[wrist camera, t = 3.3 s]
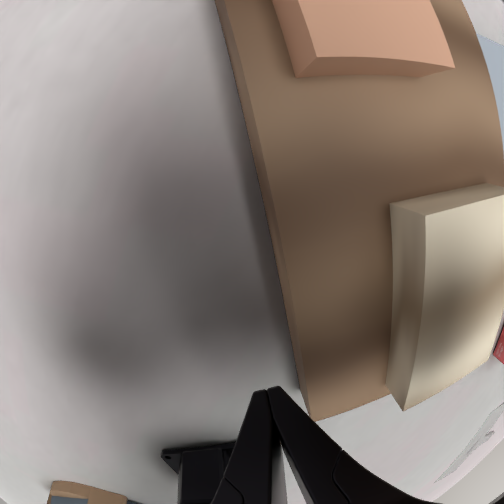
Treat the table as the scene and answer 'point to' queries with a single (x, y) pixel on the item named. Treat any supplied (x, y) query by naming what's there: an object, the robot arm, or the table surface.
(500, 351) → the ink cartridge box
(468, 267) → the birch tile
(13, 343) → the table surface
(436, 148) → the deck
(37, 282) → the table surface
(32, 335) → the table surface
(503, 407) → the grey flat piece
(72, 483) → the alarm clock
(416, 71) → the terracotta tile
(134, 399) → the table surface
